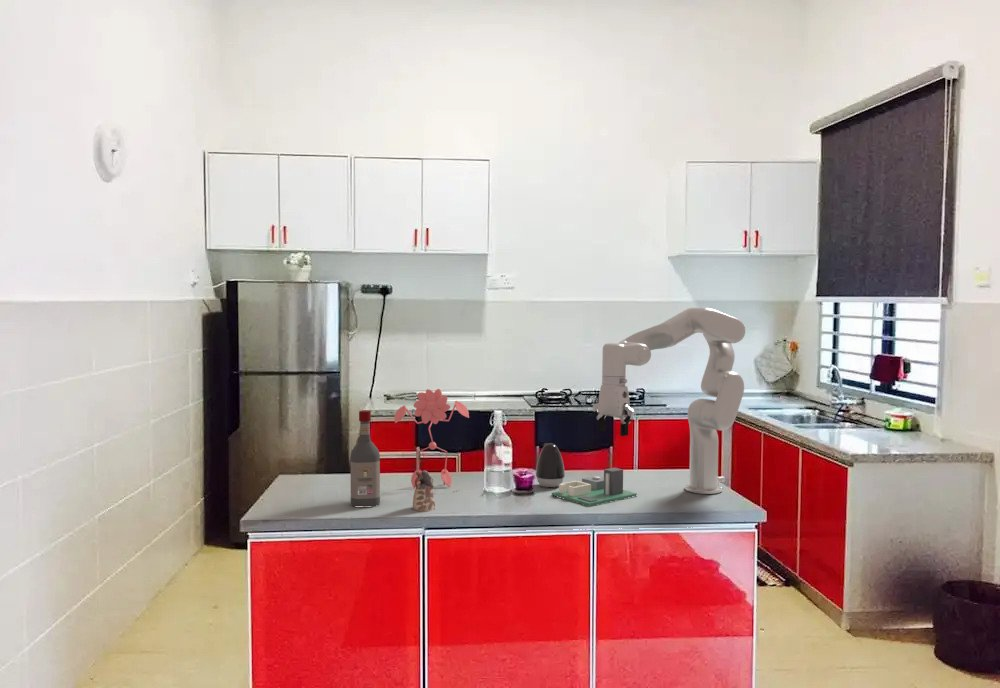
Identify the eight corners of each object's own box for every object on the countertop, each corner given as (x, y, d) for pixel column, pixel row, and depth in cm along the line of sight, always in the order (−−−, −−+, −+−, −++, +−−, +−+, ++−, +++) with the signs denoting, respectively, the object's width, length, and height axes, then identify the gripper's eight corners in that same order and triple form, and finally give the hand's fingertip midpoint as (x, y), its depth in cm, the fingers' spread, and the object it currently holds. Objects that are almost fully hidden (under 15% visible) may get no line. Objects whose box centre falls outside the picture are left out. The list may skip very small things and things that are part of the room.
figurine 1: (394, 484, 285) (394, 386, 282) (467, 483, 287) (467, 386, 285) (393, 496, 269) (393, 392, 267) (470, 494, 272) (471, 392, 270)
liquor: (380, 507, 254) (379, 412, 253) (350, 508, 253) (350, 413, 251) (379, 500, 263) (379, 408, 262) (351, 501, 262) (350, 409, 260)
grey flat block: (596, 483, 283) (596, 474, 283) (610, 487, 278) (610, 477, 278) (582, 486, 279) (582, 476, 279) (596, 490, 274) (596, 480, 273)
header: (576, 489, 275) (576, 480, 275) (591, 493, 269) (591, 484, 269) (559, 492, 270) (559, 483, 270) (573, 496, 264) (573, 487, 264)
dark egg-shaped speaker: (557, 481, 291) (558, 440, 290) (569, 488, 281) (569, 445, 280) (531, 483, 287) (531, 441, 287) (541, 490, 278) (542, 446, 277)
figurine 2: (437, 510, 250) (437, 472, 250) (414, 512, 248) (414, 473, 248) (432, 504, 257) (432, 467, 257) (410, 506, 255) (410, 469, 255)
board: (598, 486, 283) (598, 479, 283) (636, 496, 269) (636, 488, 269) (551, 495, 270) (551, 487, 270) (589, 506, 256) (589, 498, 256)
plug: (614, 490, 273) (614, 467, 272) (622, 493, 269) (623, 469, 269) (602, 493, 269) (602, 469, 269) (611, 495, 266) (611, 471, 266)
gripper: (641, 382, 257) (641, 436, 258) (602, 378, 270) (601, 429, 271) (626, 384, 252) (625, 438, 253) (586, 379, 265) (585, 431, 266)
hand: (612, 433), depth 262 cm, fingers open, 9 cm apart
